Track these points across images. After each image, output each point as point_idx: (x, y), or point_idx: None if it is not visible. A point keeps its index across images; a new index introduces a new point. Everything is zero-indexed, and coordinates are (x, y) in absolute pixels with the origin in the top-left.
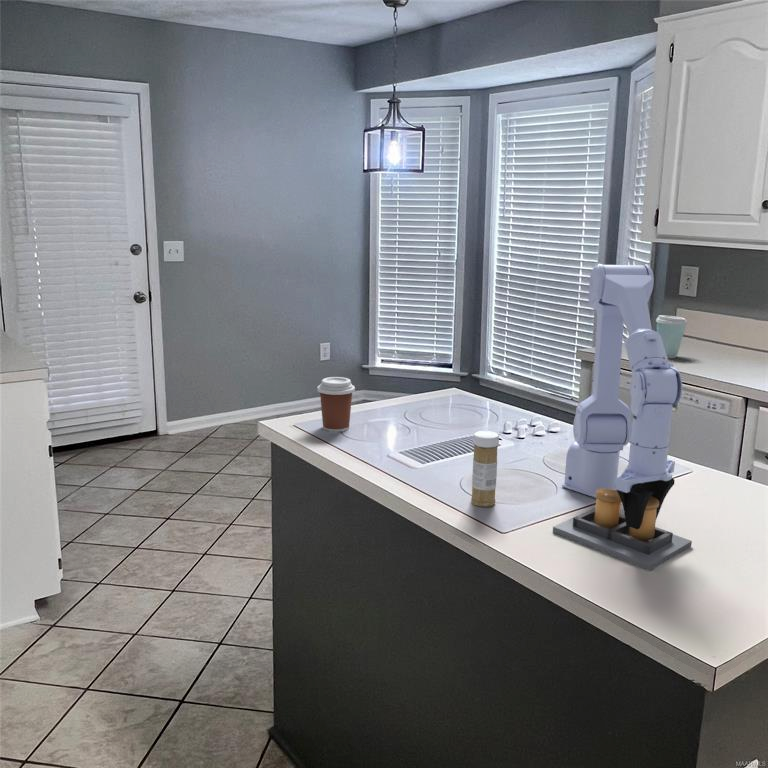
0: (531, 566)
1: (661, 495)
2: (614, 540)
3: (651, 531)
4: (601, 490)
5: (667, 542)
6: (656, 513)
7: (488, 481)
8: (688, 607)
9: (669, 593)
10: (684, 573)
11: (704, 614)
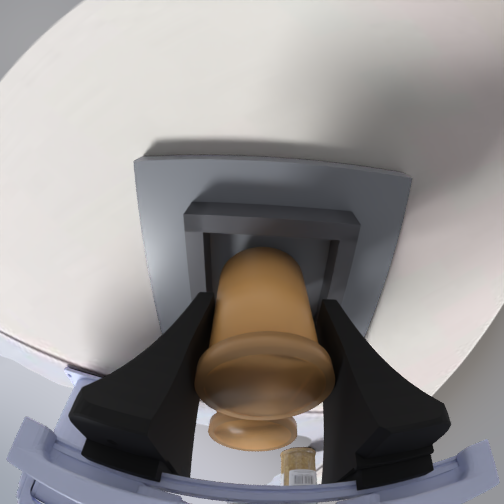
0: (476, 339)
1: (179, 373)
2: None
3: (276, 265)
4: (248, 447)
5: (222, 204)
6: (207, 310)
7: (310, 481)
8: (494, 47)
9: (475, 94)
10: (348, 85)
11: (492, 16)
